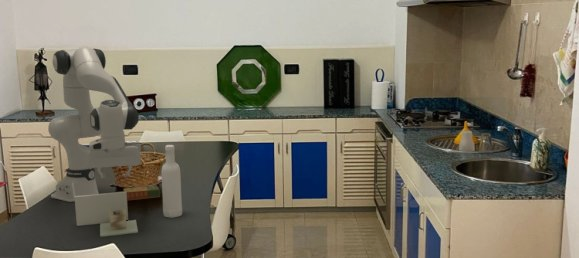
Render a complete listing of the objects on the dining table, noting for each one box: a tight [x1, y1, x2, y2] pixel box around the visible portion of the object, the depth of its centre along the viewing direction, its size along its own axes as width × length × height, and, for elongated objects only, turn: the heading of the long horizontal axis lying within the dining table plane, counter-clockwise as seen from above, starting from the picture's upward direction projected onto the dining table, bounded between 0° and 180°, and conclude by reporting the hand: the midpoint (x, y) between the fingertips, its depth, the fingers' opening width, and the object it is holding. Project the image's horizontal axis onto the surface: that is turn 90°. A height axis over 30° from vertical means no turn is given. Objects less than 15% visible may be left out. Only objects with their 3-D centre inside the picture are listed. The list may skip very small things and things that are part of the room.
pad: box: [99, 219, 139, 238], centre depth 231 cm, size 14×14×1 cm
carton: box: [122, 185, 161, 201], centre depth 275 cm, size 8×16×4 cm, turn 111°
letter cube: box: [109, 210, 127, 231], centre depth 231 cm, size 6×6×6 cm
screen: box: [74, 191, 129, 227], centre depth 238 cm, size 20×2×12 cm, turn 108°
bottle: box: [160, 144, 183, 219], centre depth 245 cm, size 8×8×30 cm
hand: (115, 177), depth 228 cm, fingers open, 8 cm apart
